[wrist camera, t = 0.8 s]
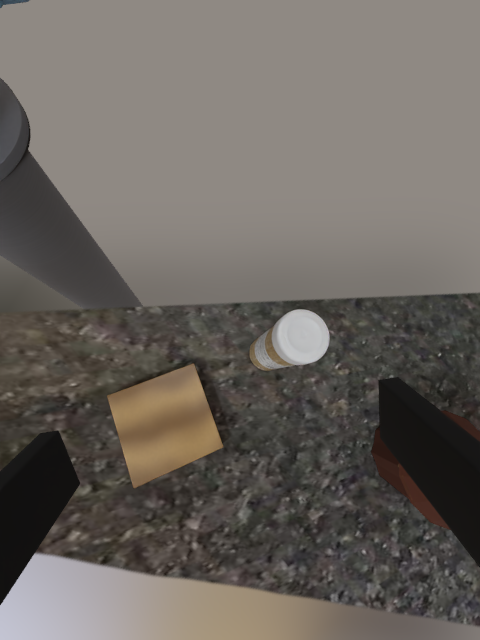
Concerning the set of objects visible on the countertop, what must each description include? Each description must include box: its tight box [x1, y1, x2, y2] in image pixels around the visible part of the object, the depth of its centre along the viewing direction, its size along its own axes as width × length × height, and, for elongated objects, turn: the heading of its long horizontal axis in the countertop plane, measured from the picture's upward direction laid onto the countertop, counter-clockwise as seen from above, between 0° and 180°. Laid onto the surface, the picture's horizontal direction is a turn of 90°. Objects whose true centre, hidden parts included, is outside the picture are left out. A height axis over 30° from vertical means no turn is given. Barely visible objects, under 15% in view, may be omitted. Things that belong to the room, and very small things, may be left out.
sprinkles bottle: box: [250, 309, 329, 371], centre depth 28 cm, size 5×5×13 cm
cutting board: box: [107, 363, 223, 488], centre depth 30 cm, size 10×10×2 cm
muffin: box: [371, 411, 480, 530], centre depth 29 cm, size 12×11×10 cm
